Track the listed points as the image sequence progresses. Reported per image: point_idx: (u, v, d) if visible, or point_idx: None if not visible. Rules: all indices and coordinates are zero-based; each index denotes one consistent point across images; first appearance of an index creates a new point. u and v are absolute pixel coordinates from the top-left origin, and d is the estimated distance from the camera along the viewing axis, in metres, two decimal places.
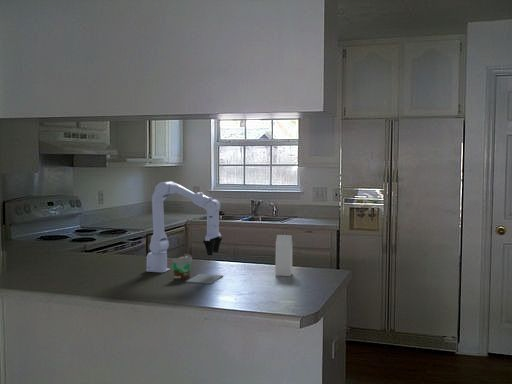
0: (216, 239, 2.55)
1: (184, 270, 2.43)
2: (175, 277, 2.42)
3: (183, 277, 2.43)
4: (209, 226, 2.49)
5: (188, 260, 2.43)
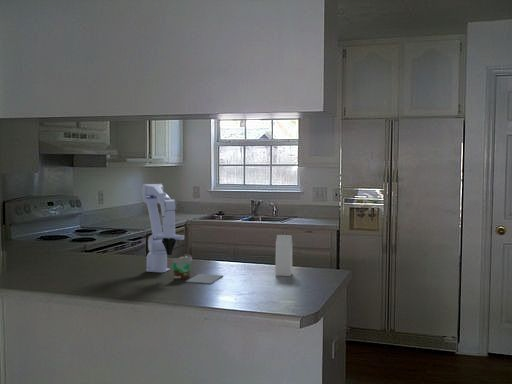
0: None
1: (184, 270, 2.43)
2: (175, 277, 2.42)
3: (183, 277, 2.43)
4: None
5: (188, 260, 2.43)
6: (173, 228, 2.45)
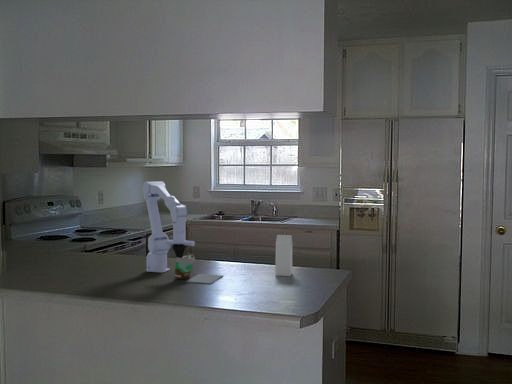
0: None
1: (185, 270, 2.42)
2: (175, 276, 2.42)
3: (183, 277, 2.43)
4: None
5: (191, 261, 2.43)
6: (183, 234, 2.44)
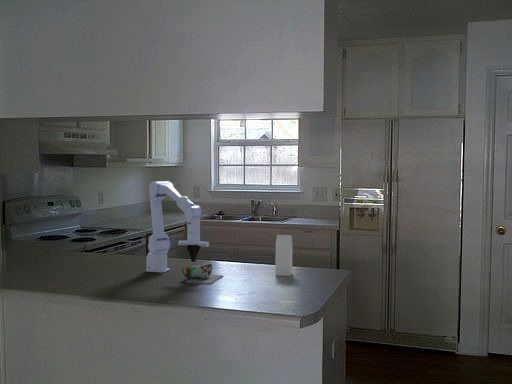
0: None
1: (193, 276, 2.41)
2: (184, 269, 2.41)
3: (186, 276, 2.43)
4: None
5: (203, 278, 2.41)
6: (198, 235, 2.42)
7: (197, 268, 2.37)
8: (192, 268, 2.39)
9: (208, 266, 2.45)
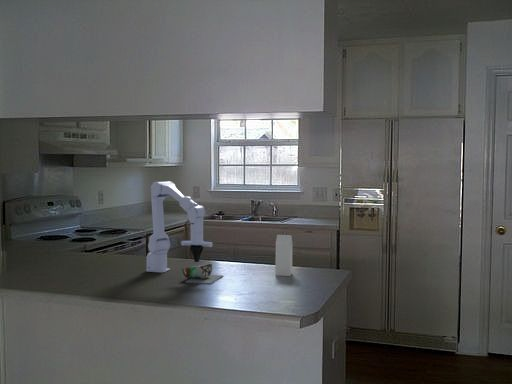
0: None
1: (193, 276, 2.41)
2: (184, 269, 2.41)
3: (186, 276, 2.43)
4: None
5: (203, 278, 2.41)
6: (201, 235, 2.41)
7: (197, 268, 2.37)
8: (192, 268, 2.39)
9: (208, 266, 2.45)
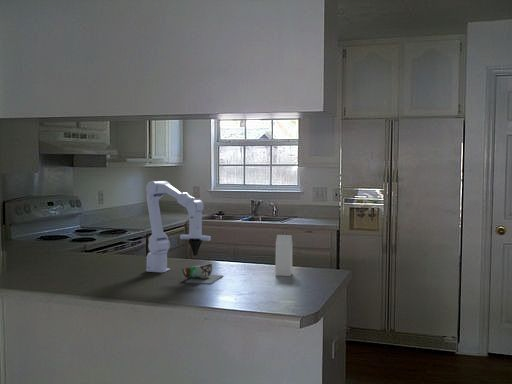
0: None
1: (193, 276, 2.41)
2: (184, 269, 2.41)
3: (186, 276, 2.43)
4: None
5: (203, 278, 2.41)
6: (200, 229, 2.45)
7: (197, 268, 2.37)
8: (192, 268, 2.39)
9: (208, 266, 2.45)
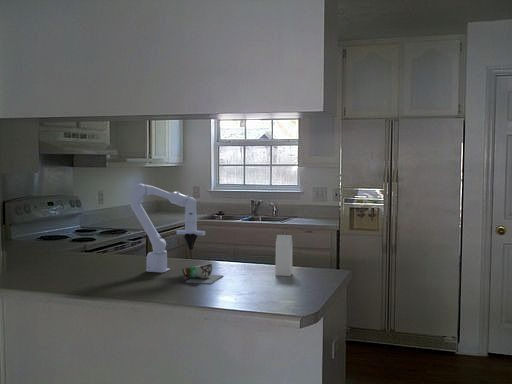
0: None
1: (193, 276, 2.41)
2: (184, 269, 2.41)
3: (186, 276, 2.43)
4: None
5: (203, 278, 2.41)
6: (195, 224, 2.59)
7: (197, 268, 2.37)
8: (192, 268, 2.39)
9: (208, 266, 2.45)
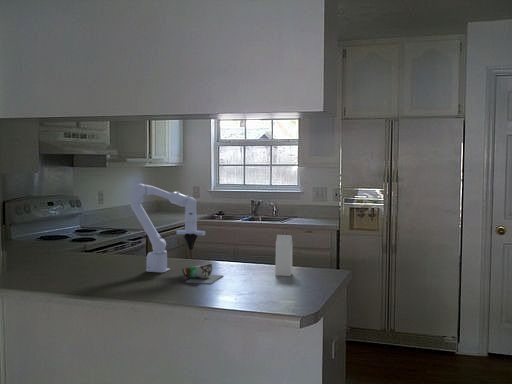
0: None
1: (193, 276, 2.41)
2: (184, 269, 2.41)
3: (186, 276, 2.43)
4: None
5: (203, 278, 2.41)
6: (195, 224, 2.59)
7: (197, 268, 2.37)
8: (192, 268, 2.39)
9: (208, 266, 2.45)
